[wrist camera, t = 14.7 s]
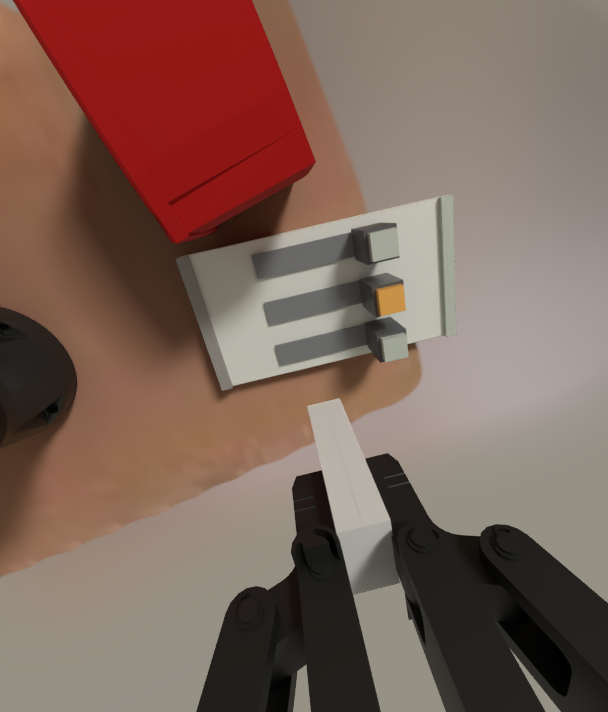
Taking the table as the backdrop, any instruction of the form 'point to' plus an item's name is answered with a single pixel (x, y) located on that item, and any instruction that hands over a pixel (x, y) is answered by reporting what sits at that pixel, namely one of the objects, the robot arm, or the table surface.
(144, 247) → the table surface
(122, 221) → the table surface
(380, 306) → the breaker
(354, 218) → the white slider panel
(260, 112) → the red rectangular box
